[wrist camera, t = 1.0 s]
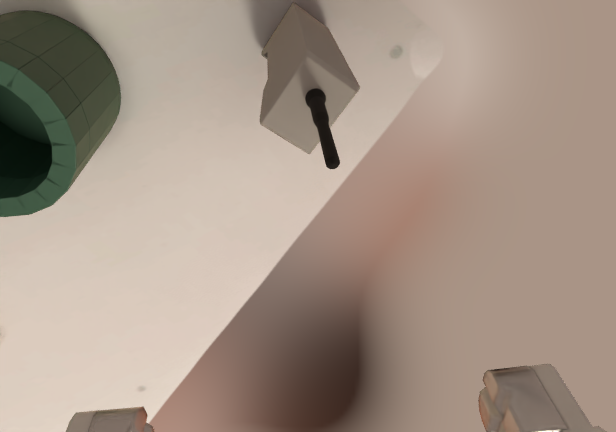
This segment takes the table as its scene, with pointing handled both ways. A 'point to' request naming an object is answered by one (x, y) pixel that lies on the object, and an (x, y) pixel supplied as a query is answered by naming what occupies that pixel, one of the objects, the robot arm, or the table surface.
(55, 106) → the green hollow cylinder
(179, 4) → the table surface
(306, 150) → the vintage mobile phone
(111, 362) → the table surface
